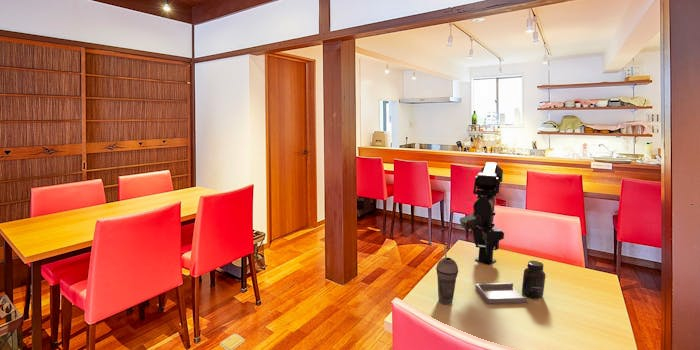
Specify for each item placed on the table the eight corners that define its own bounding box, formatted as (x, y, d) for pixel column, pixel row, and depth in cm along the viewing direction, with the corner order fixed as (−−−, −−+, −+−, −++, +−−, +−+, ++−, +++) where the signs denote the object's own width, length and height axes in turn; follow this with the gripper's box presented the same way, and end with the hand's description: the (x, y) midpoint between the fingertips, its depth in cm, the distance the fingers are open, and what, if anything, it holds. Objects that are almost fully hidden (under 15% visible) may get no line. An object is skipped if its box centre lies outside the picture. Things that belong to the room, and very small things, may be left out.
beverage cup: (453, 309, 116) (456, 251, 112) (431, 303, 120) (434, 247, 116) (459, 299, 122) (462, 244, 118) (438, 293, 126) (440, 240, 122)
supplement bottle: (534, 301, 120) (538, 268, 118) (517, 292, 126) (520, 261, 124) (547, 297, 123) (551, 264, 121) (529, 288, 129) (532, 257, 127)
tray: (511, 287, 130) (512, 282, 129) (527, 303, 120) (528, 297, 119) (475, 289, 129) (476, 283, 129) (488, 304, 119) (488, 298, 118)
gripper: (453, 202, 135) (451, 240, 138) (474, 216, 117) (471, 260, 120) (480, 201, 137) (478, 239, 139) (506, 215, 118) (503, 259, 121)
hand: (481, 249), depth 130 cm, fingers open, 9 cm apart
